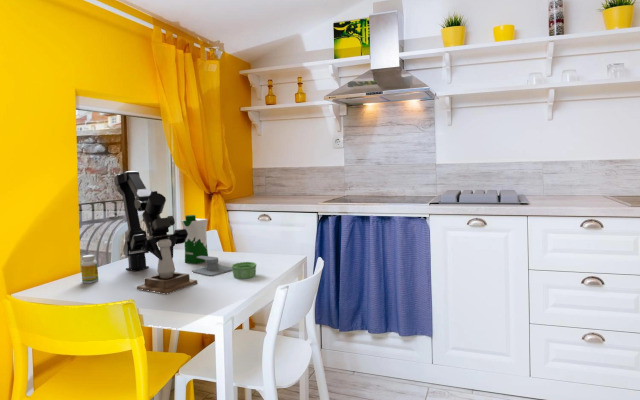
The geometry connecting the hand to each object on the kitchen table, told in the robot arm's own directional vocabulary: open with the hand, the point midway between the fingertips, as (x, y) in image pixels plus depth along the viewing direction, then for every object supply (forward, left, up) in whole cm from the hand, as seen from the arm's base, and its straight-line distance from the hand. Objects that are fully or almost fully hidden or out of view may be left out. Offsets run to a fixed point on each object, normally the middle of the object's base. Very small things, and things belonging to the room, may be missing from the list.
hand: (167, 258), depth 157 cm
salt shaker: (-1, +1, -7) cm, 7 cm away
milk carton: (-18, +32, -10) cm, 38 cm away
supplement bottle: (-33, -7, -10) cm, 35 cm away
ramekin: (+16, +21, -10) cm, 29 cm away
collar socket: (-1, 0, -10) cm, 10 cm away
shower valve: (-2, +23, -10) cm, 26 cm away
